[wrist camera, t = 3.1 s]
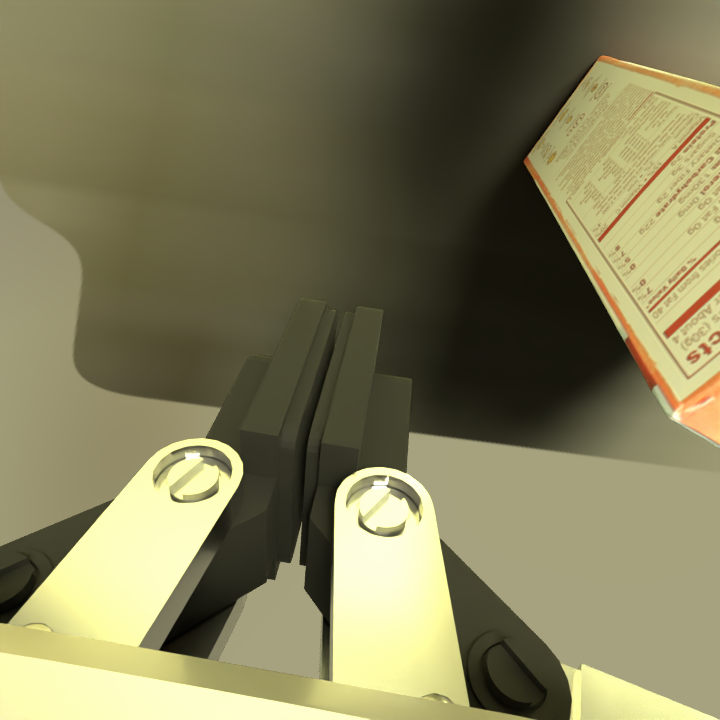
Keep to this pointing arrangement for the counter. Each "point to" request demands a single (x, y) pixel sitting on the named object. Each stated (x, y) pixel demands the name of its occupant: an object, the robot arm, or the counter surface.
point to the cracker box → (646, 221)
